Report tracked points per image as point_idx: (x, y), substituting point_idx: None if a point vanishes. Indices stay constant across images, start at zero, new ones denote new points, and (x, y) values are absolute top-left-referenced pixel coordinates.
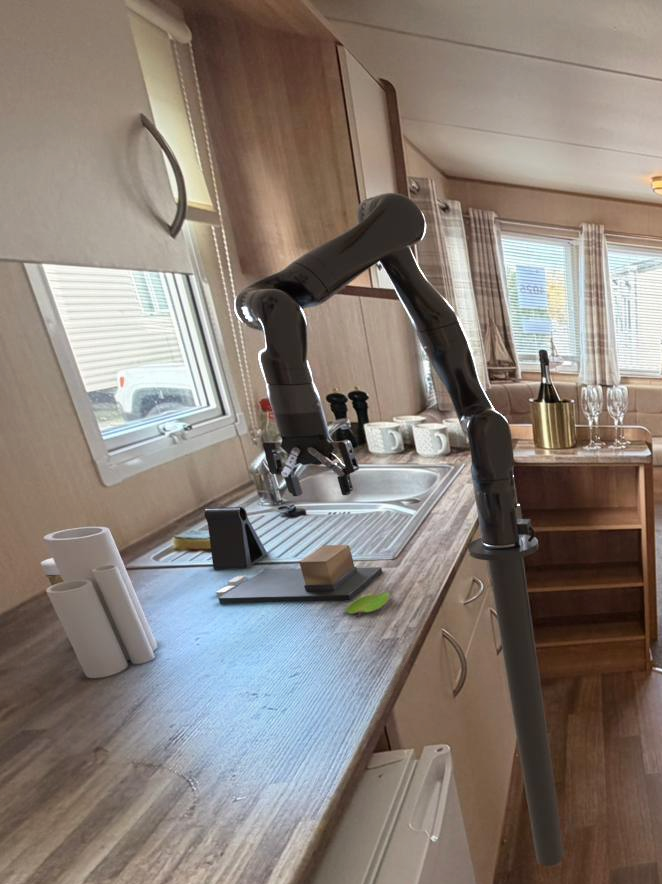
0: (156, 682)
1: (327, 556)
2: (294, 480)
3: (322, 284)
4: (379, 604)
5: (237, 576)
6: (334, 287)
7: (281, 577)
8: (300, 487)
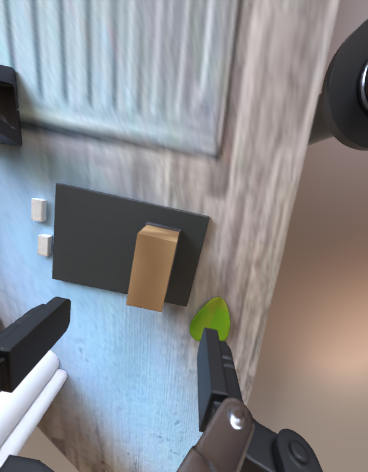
0: (90, 407)
1: (158, 291)
2: (26, 362)
3: None
4: (221, 335)
5: (33, 201)
6: None
7: (91, 225)
8: (54, 313)
